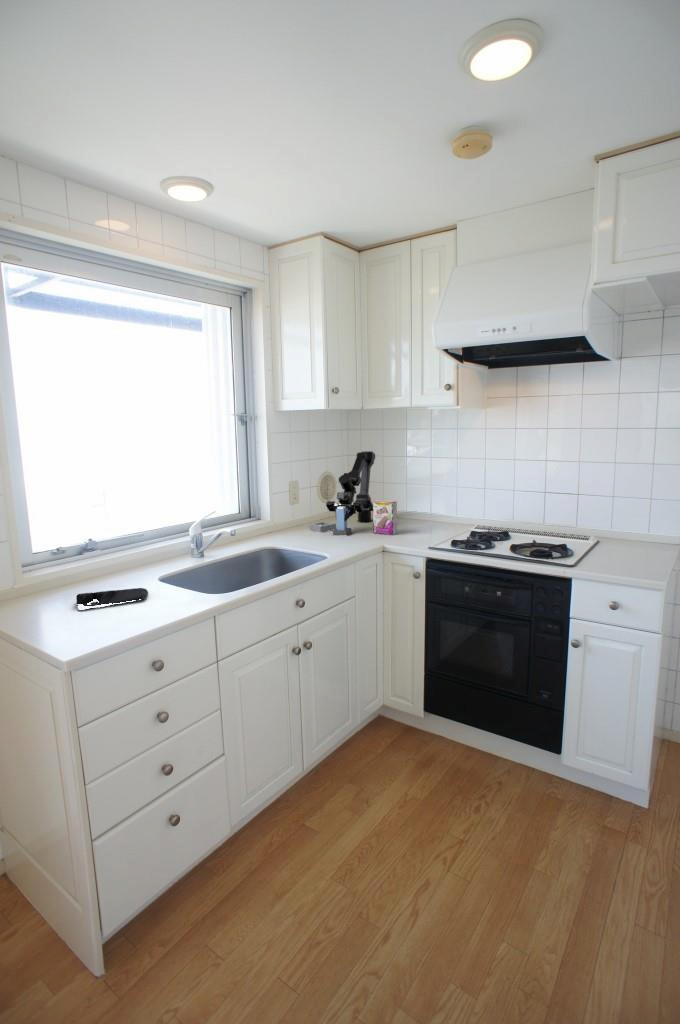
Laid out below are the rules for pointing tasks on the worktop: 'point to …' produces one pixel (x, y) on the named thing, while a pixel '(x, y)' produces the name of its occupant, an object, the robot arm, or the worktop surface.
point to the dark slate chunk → (112, 596)
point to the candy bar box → (385, 517)
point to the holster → (341, 532)
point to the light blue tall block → (341, 518)
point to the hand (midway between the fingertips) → (340, 520)
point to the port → (322, 526)
